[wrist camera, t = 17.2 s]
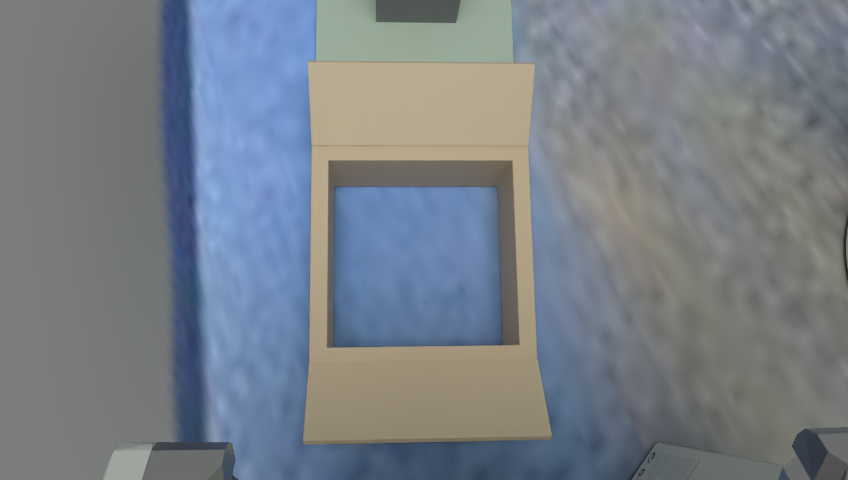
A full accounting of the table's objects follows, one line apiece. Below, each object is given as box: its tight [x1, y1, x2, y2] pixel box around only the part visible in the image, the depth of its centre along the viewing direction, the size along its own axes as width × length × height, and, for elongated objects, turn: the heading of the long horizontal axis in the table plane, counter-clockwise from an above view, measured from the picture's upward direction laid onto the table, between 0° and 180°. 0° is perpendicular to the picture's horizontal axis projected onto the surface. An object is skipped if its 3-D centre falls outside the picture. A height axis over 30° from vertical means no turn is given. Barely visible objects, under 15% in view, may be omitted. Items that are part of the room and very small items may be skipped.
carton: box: [303, 61, 552, 445], centre depth 38 cm, size 11×17×7 cm, turn 1°
